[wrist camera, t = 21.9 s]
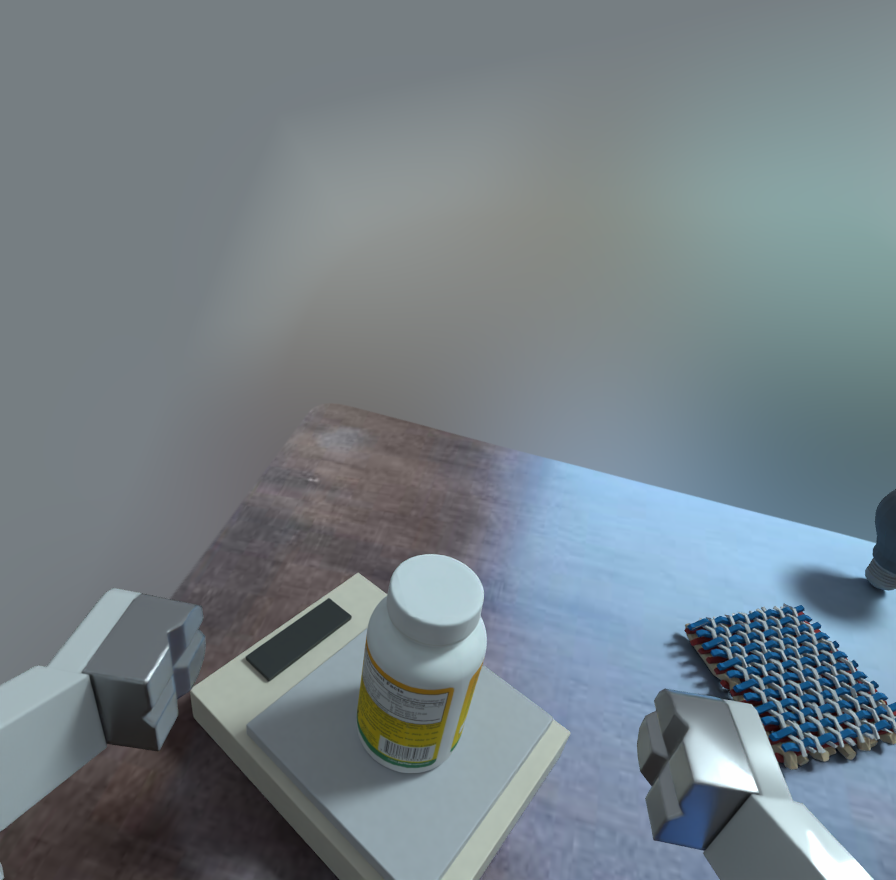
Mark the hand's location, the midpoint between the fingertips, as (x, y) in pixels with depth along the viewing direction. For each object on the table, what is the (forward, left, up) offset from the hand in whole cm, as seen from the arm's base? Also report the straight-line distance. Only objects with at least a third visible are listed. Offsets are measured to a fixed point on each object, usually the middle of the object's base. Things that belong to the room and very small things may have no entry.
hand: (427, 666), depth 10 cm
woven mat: (+10, +30, -22) cm, 39 cm away
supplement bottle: (-6, +9, -19) cm, 22 cm away
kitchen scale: (-7, +9, -22) cm, 25 cm away
